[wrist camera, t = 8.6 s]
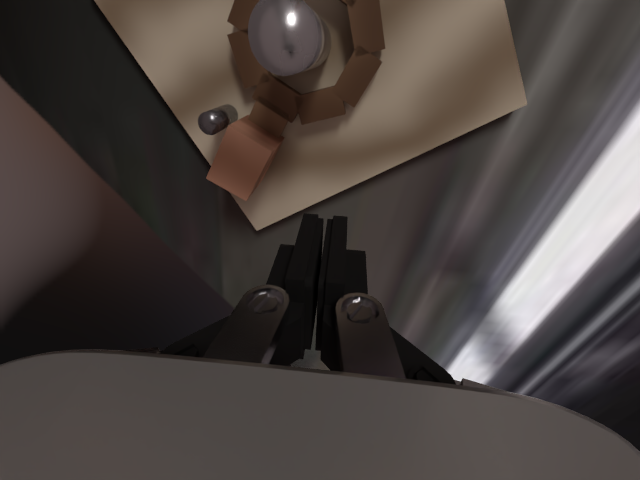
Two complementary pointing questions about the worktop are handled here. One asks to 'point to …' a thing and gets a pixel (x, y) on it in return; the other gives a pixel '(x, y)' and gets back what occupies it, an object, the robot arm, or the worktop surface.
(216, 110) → the grey cylinder
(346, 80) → the ring with handle
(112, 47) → the worktop surface
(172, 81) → the board
